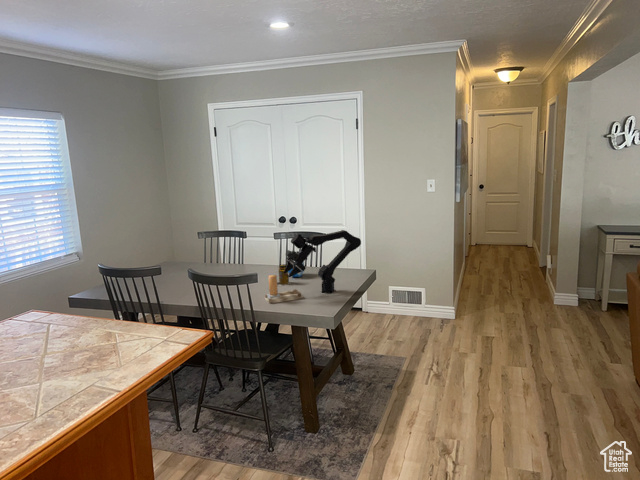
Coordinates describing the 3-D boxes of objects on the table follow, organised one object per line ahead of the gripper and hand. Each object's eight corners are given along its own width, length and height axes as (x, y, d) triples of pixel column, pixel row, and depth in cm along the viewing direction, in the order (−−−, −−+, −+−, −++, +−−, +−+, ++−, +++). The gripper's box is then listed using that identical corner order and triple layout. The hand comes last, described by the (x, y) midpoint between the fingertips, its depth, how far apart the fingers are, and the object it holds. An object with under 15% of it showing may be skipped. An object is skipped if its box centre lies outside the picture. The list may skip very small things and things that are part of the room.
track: (297, 294, 271) (297, 289, 270) (302, 298, 263) (302, 293, 262) (265, 299, 264) (264, 294, 264) (269, 303, 256) (268, 298, 255)
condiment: (291, 283, 295) (290, 265, 293) (279, 286, 290) (278, 267, 288) (285, 281, 301) (284, 263, 299) (274, 283, 296) (273, 265, 294)
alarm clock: (296, 279, 304) (295, 256, 302) (287, 278, 307) (286, 256, 304) (304, 274, 316) (303, 252, 313) (296, 273, 318) (295, 252, 316)
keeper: (277, 295, 265) (276, 274, 263) (280, 298, 260) (279, 276, 257) (267, 297, 263) (265, 275, 261) (270, 300, 257) (268, 278, 255)
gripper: (288, 242, 269) (271, 263, 268) (298, 247, 252) (280, 270, 250) (302, 253, 273) (285, 274, 272) (313, 259, 256) (295, 282, 254)
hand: (286, 275), depth 262 cm, fingers open, 9 cm apart
